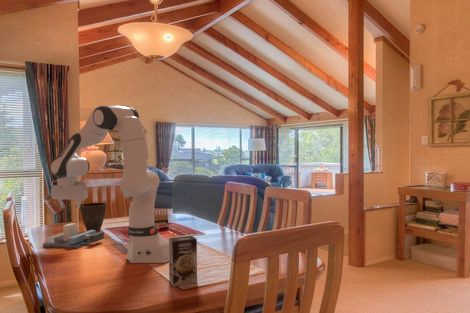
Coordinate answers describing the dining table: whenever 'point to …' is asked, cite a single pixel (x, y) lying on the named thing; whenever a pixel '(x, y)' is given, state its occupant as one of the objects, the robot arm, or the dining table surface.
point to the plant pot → (93, 215)
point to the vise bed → (63, 242)
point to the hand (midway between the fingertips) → (70, 207)
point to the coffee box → (182, 260)
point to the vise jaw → (87, 237)
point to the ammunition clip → (163, 217)
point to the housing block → (69, 231)
